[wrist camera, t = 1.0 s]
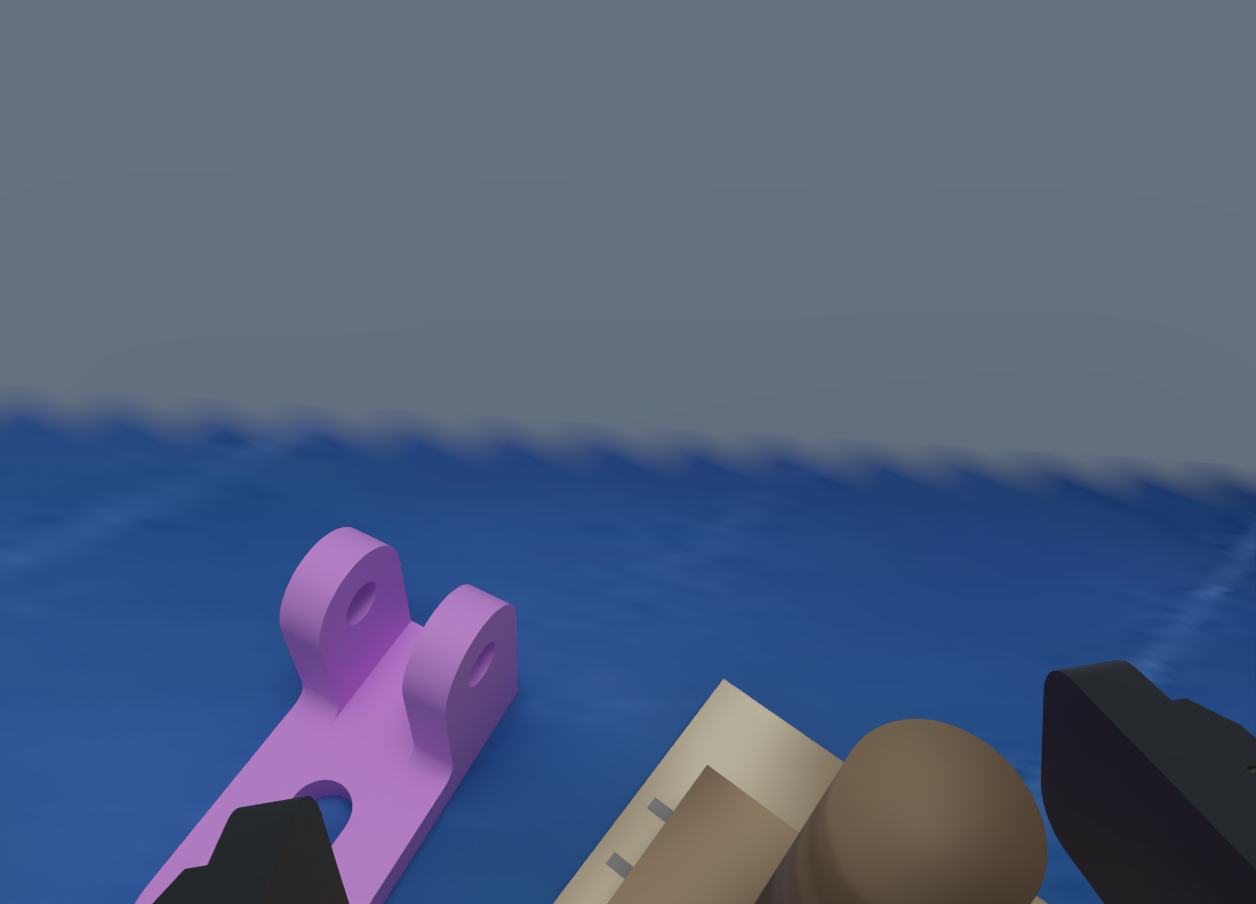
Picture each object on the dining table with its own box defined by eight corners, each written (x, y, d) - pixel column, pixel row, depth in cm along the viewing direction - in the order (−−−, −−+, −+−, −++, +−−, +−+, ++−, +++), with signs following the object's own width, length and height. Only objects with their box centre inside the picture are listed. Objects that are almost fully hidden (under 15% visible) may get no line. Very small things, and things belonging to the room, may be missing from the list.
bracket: (382, 624, 32) (353, 503, 27) (517, 693, 31) (514, 580, 26) (84, 999, 24) (-39, 929, 19) (250, 1115, 23) (167, 1074, 18)
